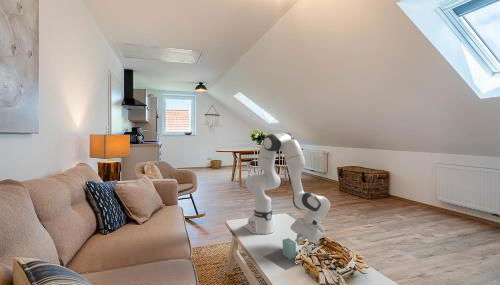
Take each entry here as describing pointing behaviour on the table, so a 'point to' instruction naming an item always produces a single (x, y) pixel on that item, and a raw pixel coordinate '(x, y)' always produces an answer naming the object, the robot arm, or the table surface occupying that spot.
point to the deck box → (289, 248)
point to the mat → (281, 259)
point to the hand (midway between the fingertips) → (297, 242)
